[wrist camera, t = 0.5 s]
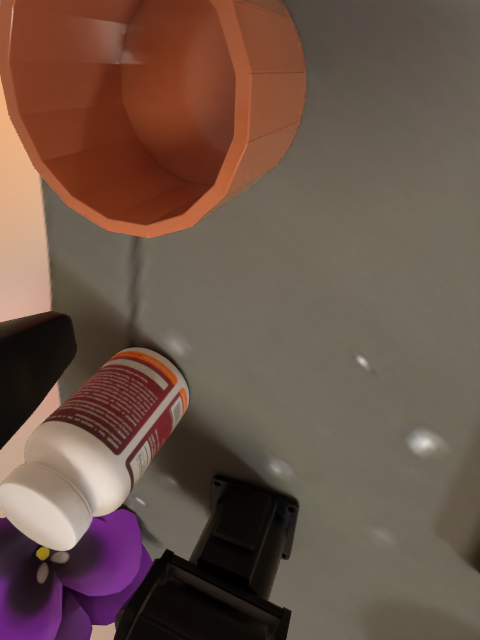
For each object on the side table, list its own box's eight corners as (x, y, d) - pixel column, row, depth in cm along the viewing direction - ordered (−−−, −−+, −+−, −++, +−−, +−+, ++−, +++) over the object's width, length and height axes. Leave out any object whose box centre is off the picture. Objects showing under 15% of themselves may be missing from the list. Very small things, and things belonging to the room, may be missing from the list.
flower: (64, 431, 47) (100, 439, 36) (127, 546, 49) (179, 587, 38) (-89, 521, 39) (-103, 567, 28) (-8, 656, 41) (10, 750, 30)
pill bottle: (97, 355, 30) (-41, 475, 21) (161, 333, 27) (31, 463, 18) (143, 423, 32) (34, 560, 23) (208, 410, 29) (111, 563, 20)
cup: (294, 204, 20) (242, 256, 15) (128, 180, 23) (29, 216, 17) (321, -44, 16) (261, -108, 10) (109, -40, 18) (-36, -90, 12)
